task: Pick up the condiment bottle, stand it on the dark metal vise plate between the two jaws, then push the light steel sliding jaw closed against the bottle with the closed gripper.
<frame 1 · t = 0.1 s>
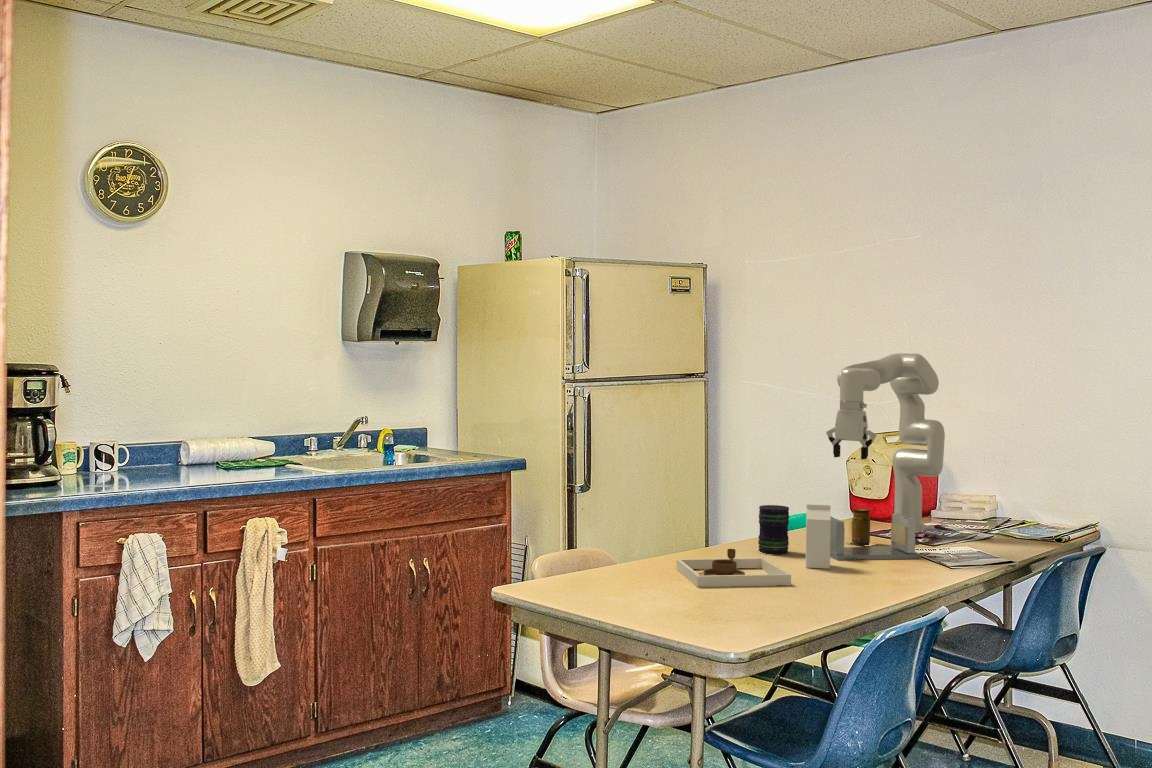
hand: (850, 458, 350), 31 cm above the table, tool pointing down, fingers open, 9 cm apart
storage jar: (773, 553, 348), on the table
condiment: (862, 545, 365), on the table
serving tray rim: (731, 577, 308), on the table
place setting: (731, 577, 308), resting in serving tray rim
vise base: (870, 555, 344), on the table
milk carton: (817, 567, 325), on the table
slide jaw: (908, 532, 346), point 7 cm above the table, slide at 0.0 cm
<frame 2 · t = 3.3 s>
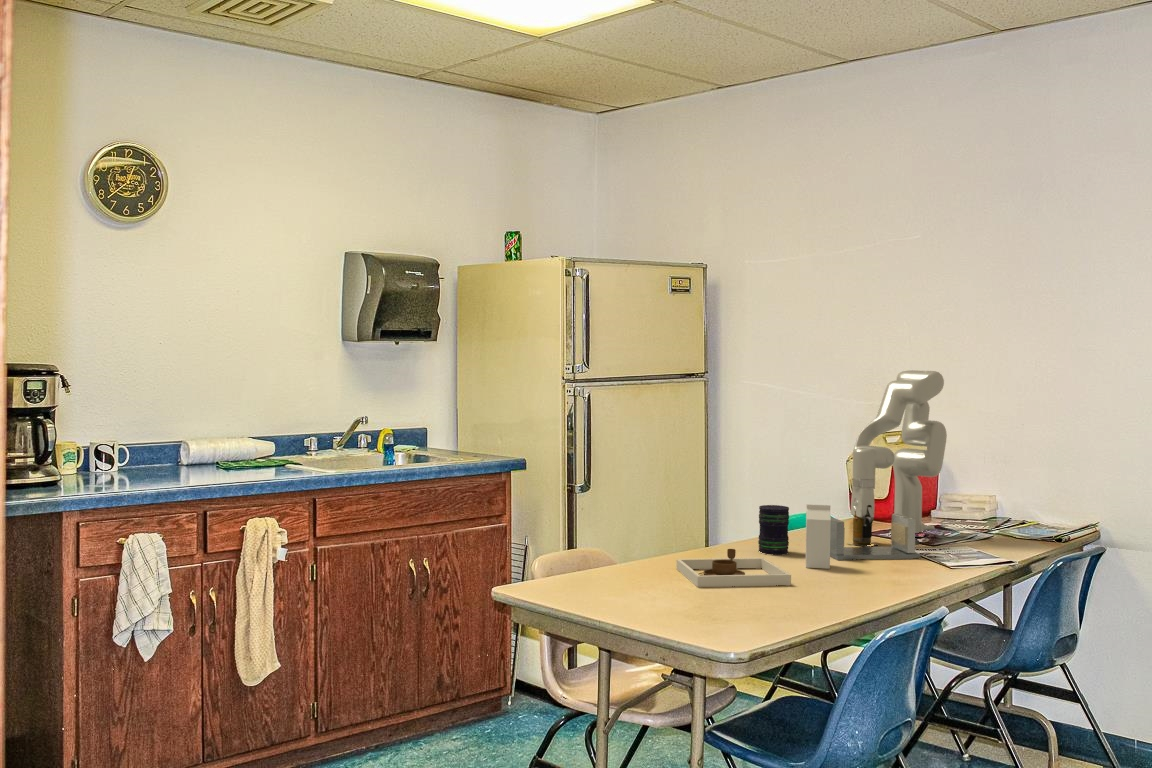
hand: (862, 535, 365), 3 cm above the table, tool pointing down, fingers closed on condiment, 6 cm apart
condiment: (863, 545, 364), on the table, touching gripper
everything else where it was.
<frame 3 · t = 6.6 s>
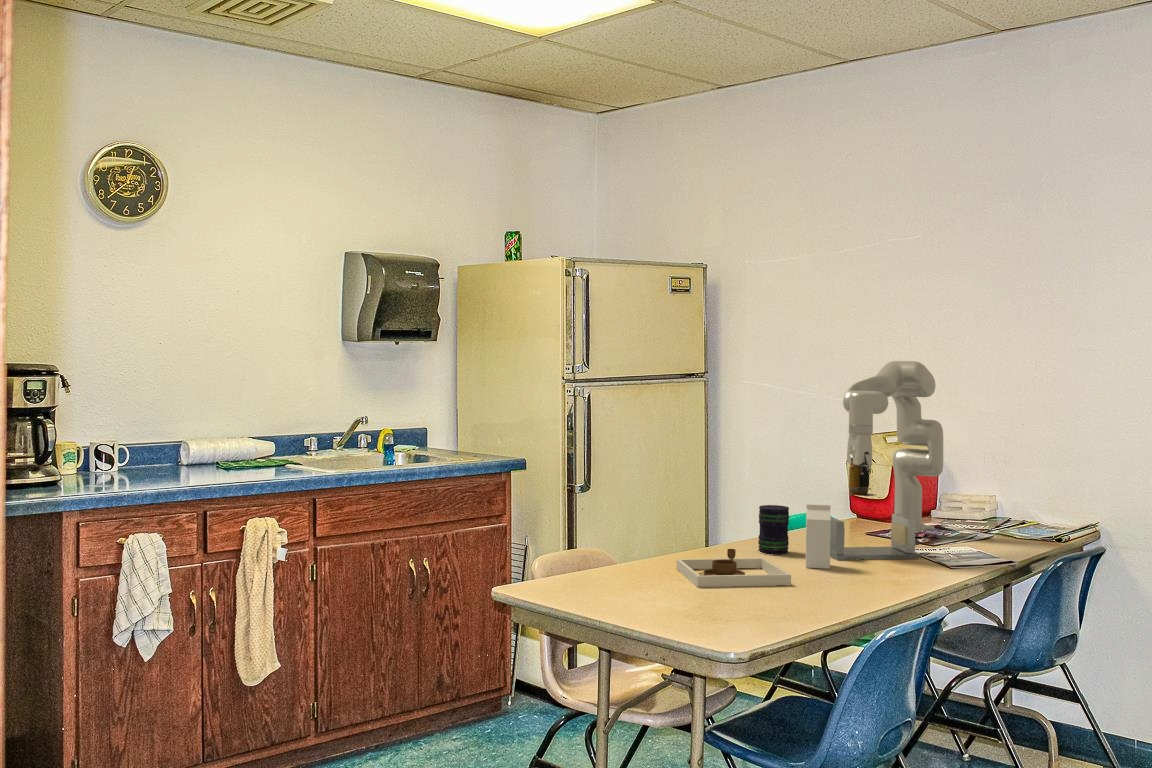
hand: (859, 485, 343), 23 cm above the table, tool pointing down, fingers closed on condiment, 6 cm apart
condiment: (860, 495, 342), point 20 cm above the table, touching gripper
everything else where it was.
when the fingers open (5 cm above the table, at t = 10.2 s): condiment stays where it is, resting on vise base.
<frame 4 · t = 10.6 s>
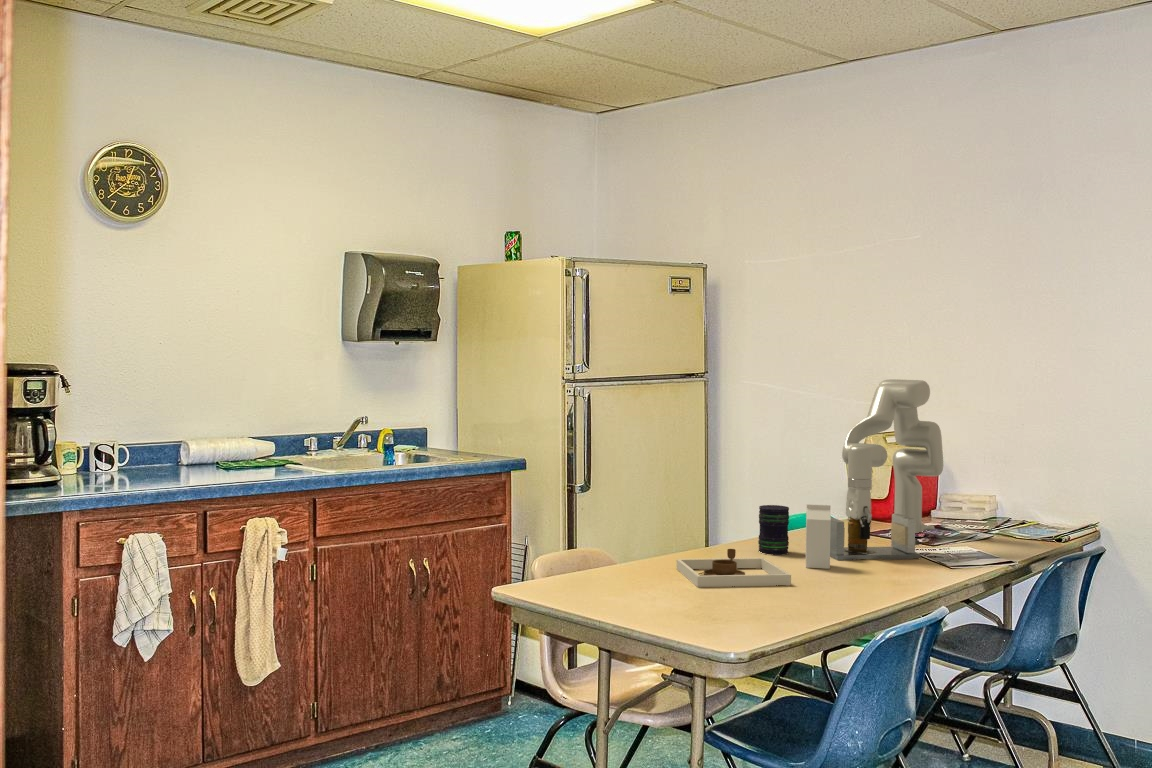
hand: (858, 536, 344), 6 cm above the table, tool pointing down, fingers open, 9 cm apart
condiment: (859, 552, 343), point 1 cm above the table, touching vise base
everything else where it was.
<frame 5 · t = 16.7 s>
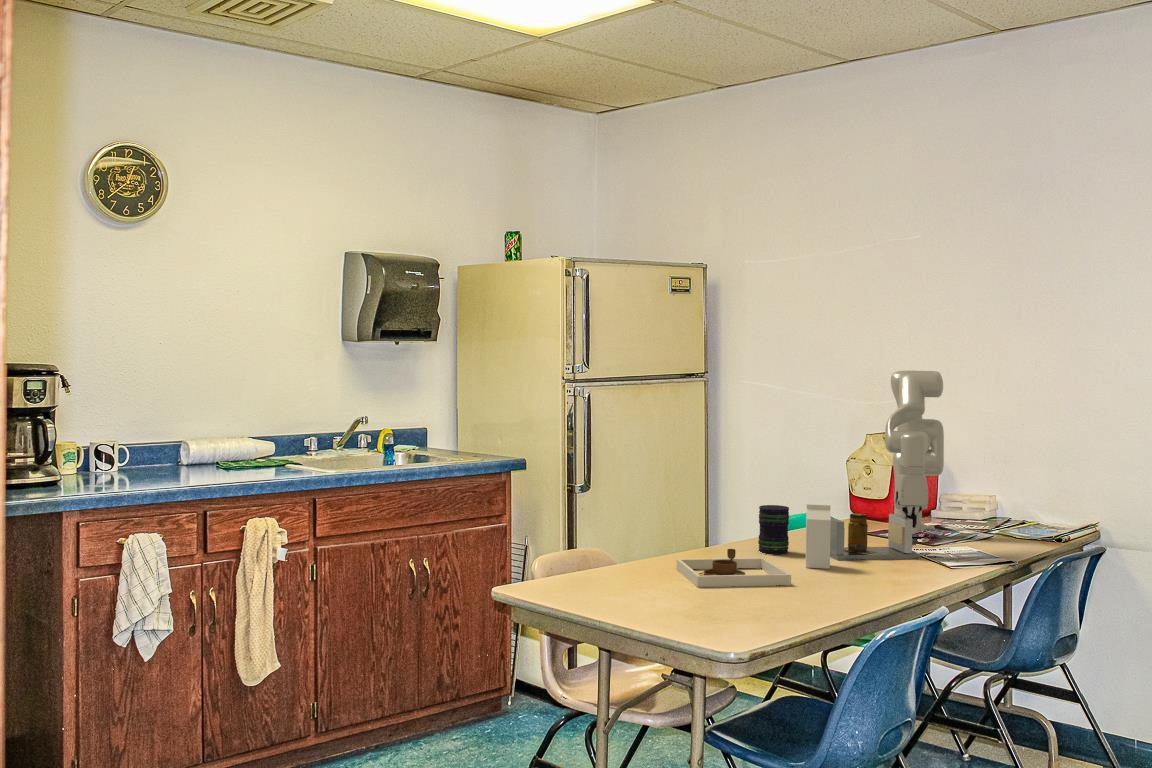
hand: (911, 526, 346), 9 cm above the table, tool pointing down, fingers closed
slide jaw: (905, 533, 346), point 7 cm above the table, slide at 1.0 cm, touching gripper
everything else where it was.
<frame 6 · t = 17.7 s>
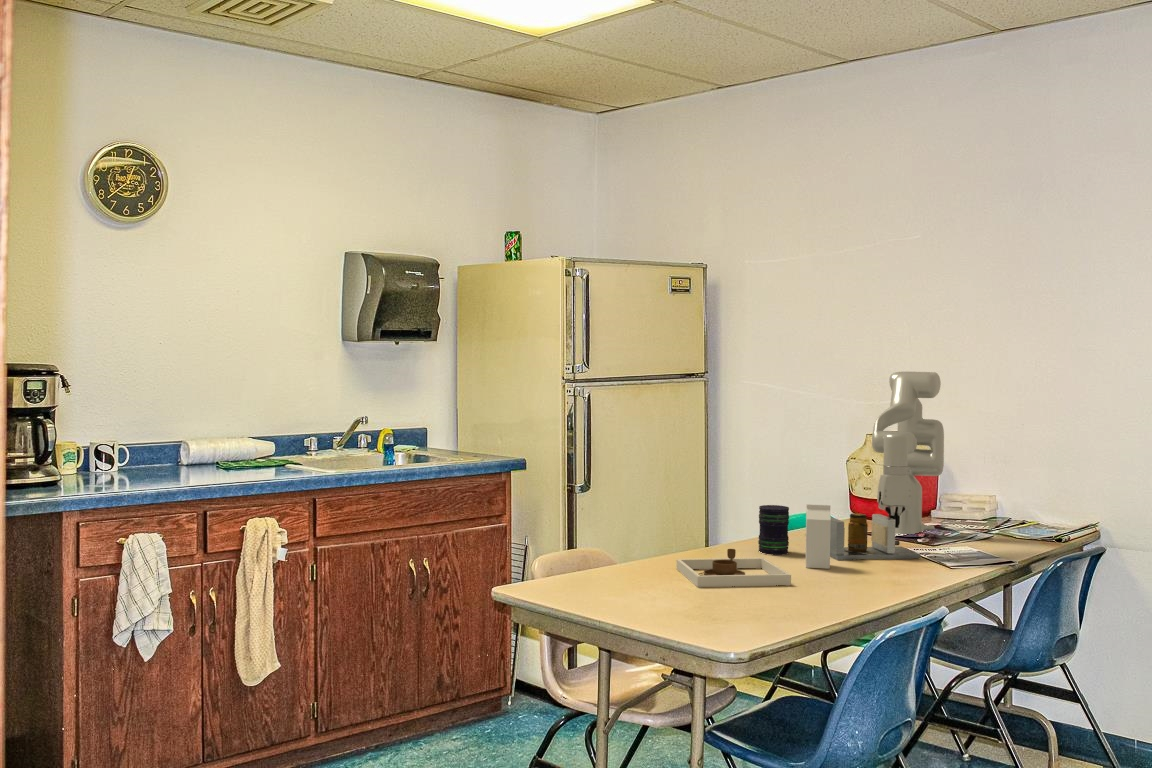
hand: (894, 527, 345), 9 cm above the table, tool pointing down, fingers closed
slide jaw: (888, 533, 345), point 7 cm above the table, slide at 6.8 cm, touching gripper
everything else where it was.
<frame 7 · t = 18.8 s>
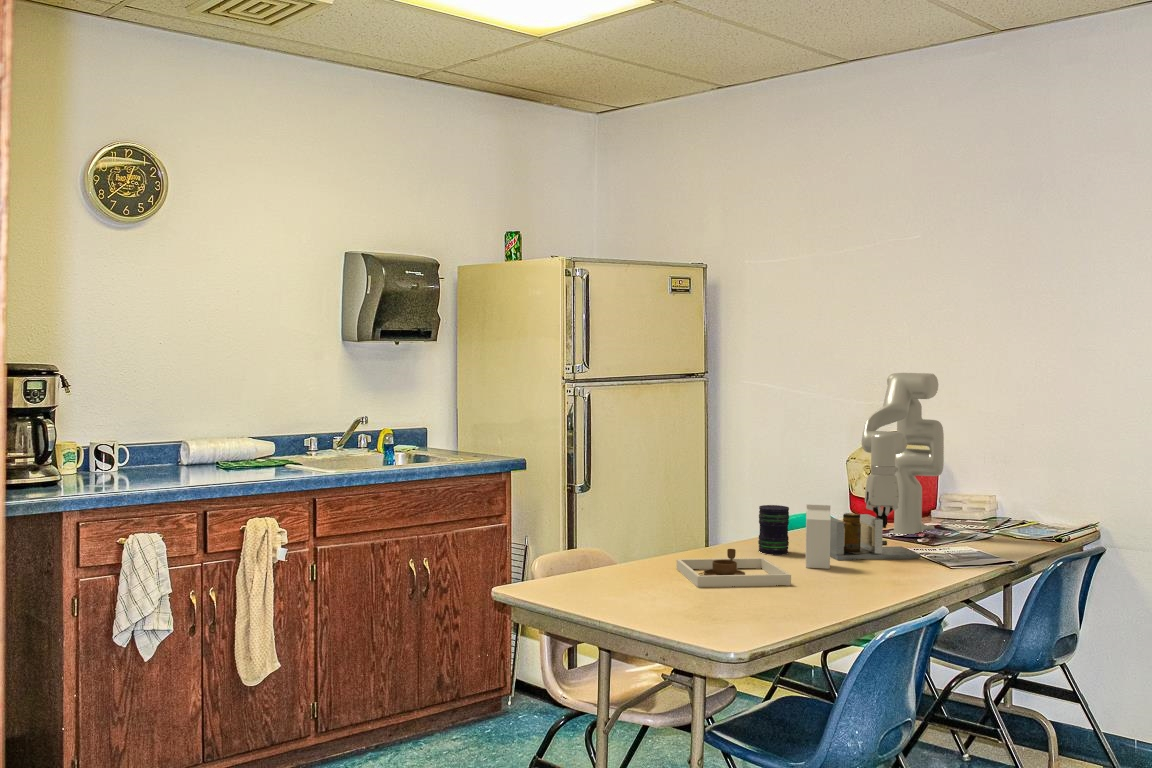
hand: (881, 527, 344), 9 cm above the table, tool pointing down, fingers closed
condiment: (852, 551, 343), point 1 cm above the table, touching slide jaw
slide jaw: (875, 533, 344), point 7 cm above the table, slide at 11.1 cm, touching condiment, gripper
everything else where it was.
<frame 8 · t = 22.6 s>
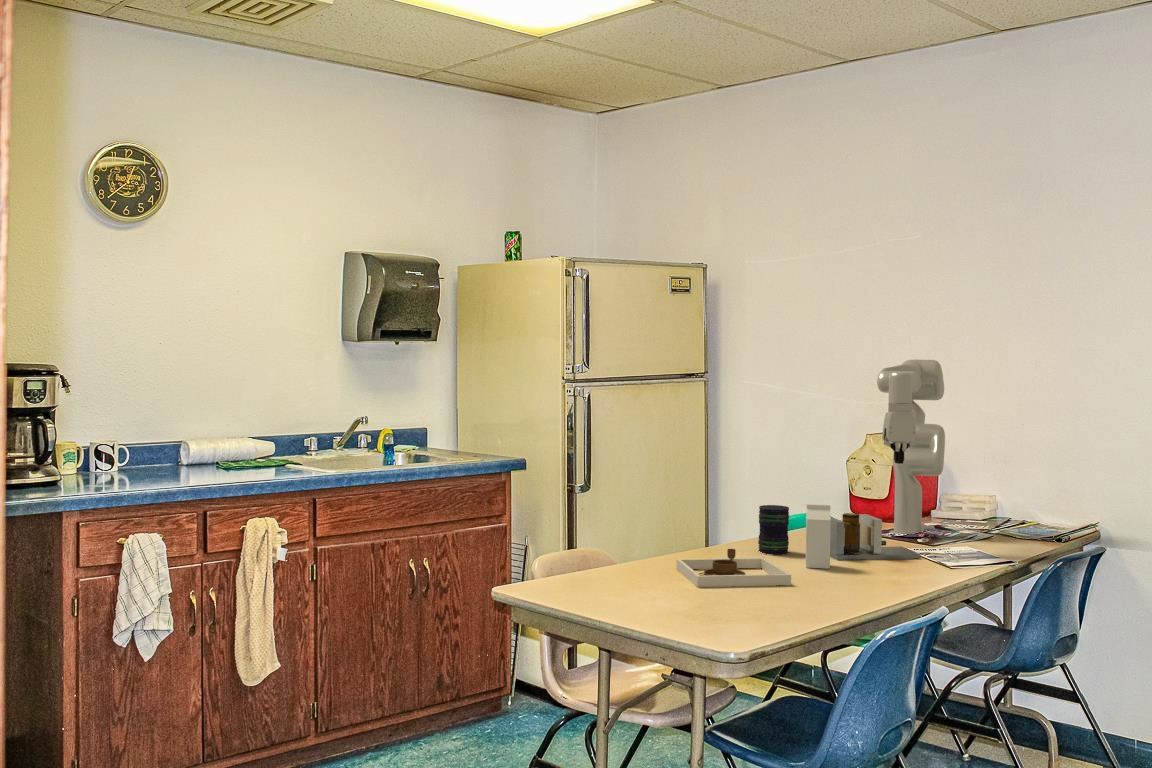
hand: (898, 463, 355), 29 cm above the table, tool pointing down, fingers closed
condiment: (851, 551, 343), point 1 cm above the table, touching vise base
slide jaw: (875, 533, 344), point 7 cm above the table, slide at 11.4 cm
everything else where it was.
at the end: condiment inside the target area (1.4 cm from its centre), point 1.3 cm above the table; condiment tilted 0°; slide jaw slide at 11.4 cm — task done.
